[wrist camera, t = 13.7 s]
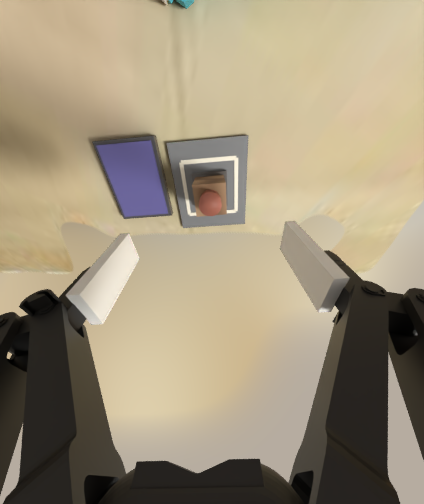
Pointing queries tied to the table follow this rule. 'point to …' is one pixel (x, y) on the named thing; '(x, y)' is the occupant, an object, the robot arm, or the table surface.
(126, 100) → the table surface
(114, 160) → the ink pad
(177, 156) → the board
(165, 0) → the butterfly valve
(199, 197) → the stamp
